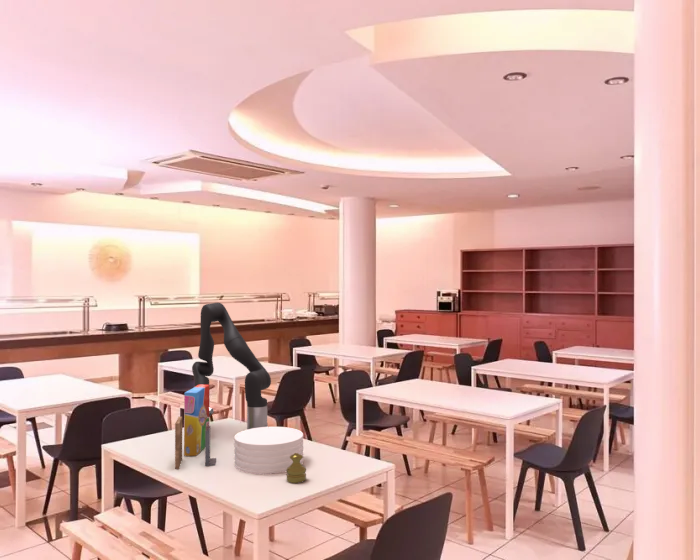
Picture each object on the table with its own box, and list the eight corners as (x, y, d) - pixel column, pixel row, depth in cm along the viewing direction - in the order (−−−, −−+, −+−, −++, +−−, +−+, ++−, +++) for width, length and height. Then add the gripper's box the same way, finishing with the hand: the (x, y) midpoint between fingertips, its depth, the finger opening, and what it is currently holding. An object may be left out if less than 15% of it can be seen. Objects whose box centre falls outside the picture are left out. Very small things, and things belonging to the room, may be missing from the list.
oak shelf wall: (182, 459, 233) (182, 416, 233) (179, 468, 221) (179, 423, 221) (178, 459, 233) (178, 416, 233) (175, 469, 221) (175, 423, 221)
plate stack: (230, 456, 237) (230, 429, 238) (294, 450, 247) (294, 424, 247) (239, 478, 211) (239, 447, 211) (310, 469, 220) (310, 440, 220)
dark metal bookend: (216, 459, 234) (216, 425, 234) (215, 465, 225) (215, 430, 225) (206, 459, 233) (206, 426, 233) (205, 466, 224) (205, 431, 225)
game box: (196, 456, 237) (196, 392, 237) (183, 456, 237) (183, 392, 237) (209, 442, 258) (209, 384, 258) (197, 442, 258) (198, 384, 258)
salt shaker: (289, 484, 203) (289, 457, 203) (283, 478, 210) (283, 451, 210) (308, 482, 206) (308, 454, 206) (302, 475, 213) (302, 449, 213)
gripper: (186, 392, 267) (183, 424, 255) (214, 391, 270) (213, 422, 257) (187, 401, 272) (185, 432, 260) (215, 400, 275) (214, 431, 262)
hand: (199, 427), depth 259 cm, fingers closed
